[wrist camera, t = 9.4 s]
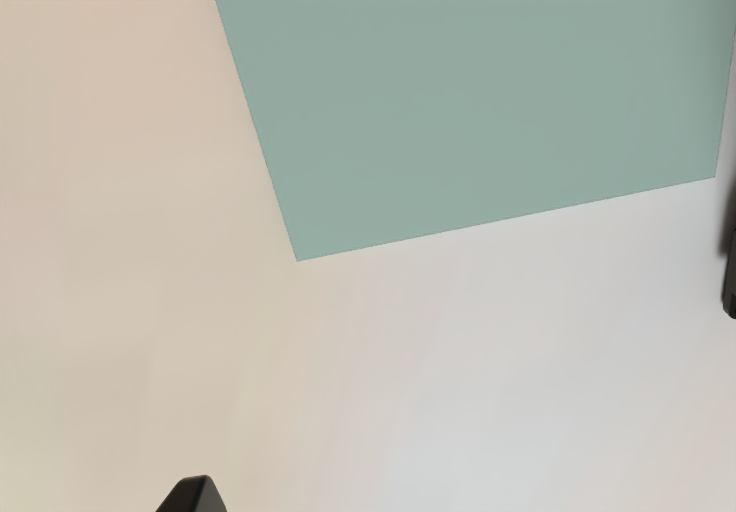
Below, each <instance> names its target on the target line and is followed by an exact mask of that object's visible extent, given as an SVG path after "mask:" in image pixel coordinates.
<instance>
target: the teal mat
mask: <svg viewBox="0 0 736 512" xmlns="http://www.w3.org/2000/svg"><path fill="white" fill-rule="evenodd" d="M215 1H216V4H217V7H218V11H219V14H220V17H221V20H222V23H223V27H224V30H225V33H226V36H227V39H228V43H229V46H230V49H231V52H232V55H233V59H234V62H235V65H236V68H237V71H238V75H239V78H240V81H241V84H242V87H243V91H244V94H245V97H246V100H247V103H248V107H249V110H250V113H251V116H252V119H253V123H254V126H255V129H256V132H257V135H258V139H259V142H260V145H261V148H262V151H263V155H264V158H265V161H266V164H267V168H268V171H269V174H270V177H271V180H272V184H273V187H274V190H275V193H276V196H277V200H278V203H279V206H280V209H281V212H282V216H283V219H284V222H285V225H286V228H287V232H288V235H289V238H290V241H291V244H292V248H293V251H294V254H295V257H296V260H297V261H302V260H307V259H312V258H317V257H322V256H327V255H332V254H337V253H342V252H347V251H352V250H357V249H362V248H367V247H372V246H377V245H382V244H386V243H391V242H396V241H401V240H406V239H411V238H416V237H421V236H426V235H431V234H436V233H441V232H446V231H451V230H456V229H461V228H466V227H471V226H476V225H480V224H485V223H490V222H495V221H500V220H505V219H510V218H515V217H520V216H525V215H530V214H535V213H540V212H545V211H550V210H555V209H560V208H565V207H569V206H574V205H579V204H584V203H589V202H594V201H599V200H604V199H609V198H614V197H619V196H624V195H629V194H634V193H639V192H644V191H649V190H654V189H659V188H663V187H668V186H673V185H678V184H683V183H688V182H693V181H698V180H703V179H708V178H713V177H715V175H716V167H717V160H718V153H719V145H720V138H721V131H722V123H723V116H724V109H725V101H726V94H727V87H728V79H729V72H730V65H731V57H732V50H733V43H734V36H735V28H736V0H215Z"/></svg>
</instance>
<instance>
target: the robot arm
mask: <svg viewBox="0 0 736 512" xmlns="http://www.w3.org/2000/svg"><path fill="white" fill-rule="evenodd" d="M725 285H726V290H725V296H724V302H723V310H724V311H725V312H726V313H727V314H728V315H729V316H730V317H731V318H733V319H736V230H735V233H734V235H733V240H732V246H731V252H730V258H729V265H728V271H727V277H726V283H725ZM156 512H227V510H226V507H225V505H224V503H223V501H222V498H221V496H220V494H219V492H218V490H217V488H216V486H215V484H214V482H213V480H212V479H211V477H209V476H208V475H200V476H194V477H187V478H183V479H182V480H180V481H179V482H178V483H177V484H176V485H175V487H174V488H173V489H172V491H171V492H170V493H169V494H168V496H167V497H166V498H165V500H164V501H163V502H162V504H161V505H160V506H159V508H158V509H157V510H156Z"/></svg>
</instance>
